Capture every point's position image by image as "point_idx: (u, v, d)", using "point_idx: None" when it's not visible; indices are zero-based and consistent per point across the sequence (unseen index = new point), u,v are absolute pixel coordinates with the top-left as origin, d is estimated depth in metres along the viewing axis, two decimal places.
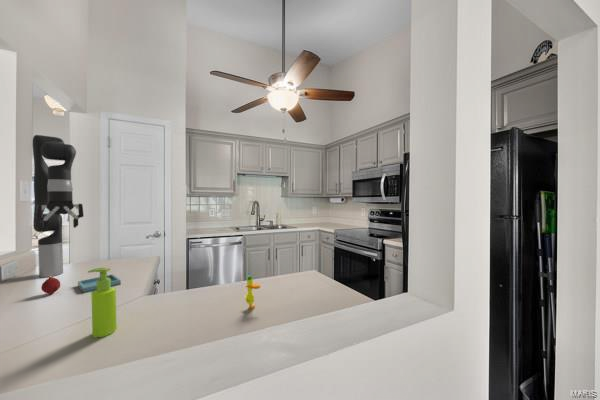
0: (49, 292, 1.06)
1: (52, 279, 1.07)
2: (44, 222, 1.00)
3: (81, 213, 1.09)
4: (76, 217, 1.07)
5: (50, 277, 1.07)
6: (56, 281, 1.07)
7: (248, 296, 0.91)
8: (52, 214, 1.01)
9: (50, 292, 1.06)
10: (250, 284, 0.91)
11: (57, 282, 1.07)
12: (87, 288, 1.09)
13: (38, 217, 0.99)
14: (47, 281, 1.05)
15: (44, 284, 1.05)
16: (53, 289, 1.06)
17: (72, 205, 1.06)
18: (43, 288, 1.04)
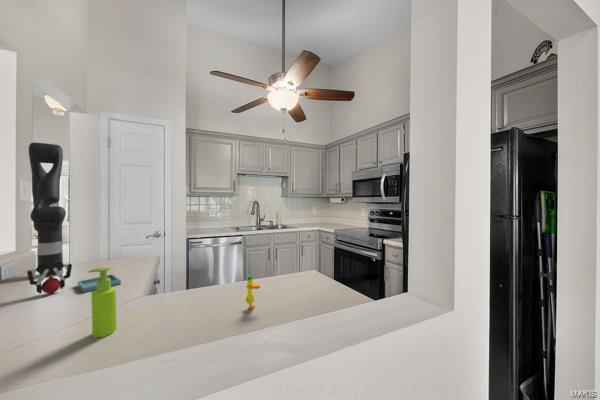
0: (49, 292, 1.06)
1: (52, 279, 1.07)
2: (37, 286, 1.04)
3: (68, 274, 1.11)
4: (62, 278, 1.09)
5: (50, 277, 1.07)
6: (56, 281, 1.07)
7: (248, 296, 0.91)
8: None
9: (50, 292, 1.06)
10: (250, 284, 0.91)
11: (57, 282, 1.07)
12: (87, 288, 1.09)
13: (31, 282, 1.02)
14: (47, 281, 1.05)
15: (44, 284, 1.05)
16: (53, 289, 1.06)
17: (62, 265, 1.09)
18: (43, 288, 1.04)
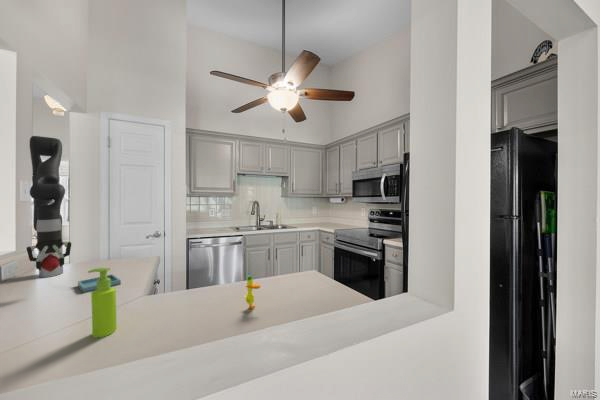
0: (48, 269, 1.06)
1: (51, 256, 1.06)
2: (37, 263, 1.04)
3: (68, 252, 1.10)
4: (62, 256, 1.09)
5: (49, 254, 1.07)
6: (55, 258, 1.07)
7: (248, 296, 0.91)
8: (43, 254, 1.04)
9: (49, 269, 1.06)
10: (250, 284, 0.91)
11: (56, 259, 1.07)
12: (87, 288, 1.09)
13: (31, 259, 1.02)
14: (46, 258, 1.05)
15: (44, 261, 1.05)
16: (53, 266, 1.06)
17: (61, 243, 1.09)
18: (42, 265, 1.04)
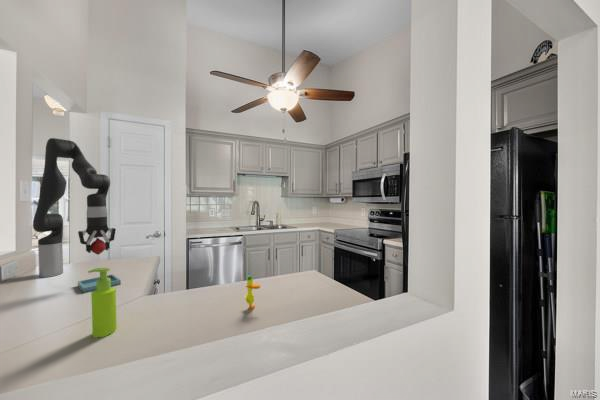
0: (97, 252, 1.15)
1: (99, 240, 1.16)
2: (87, 246, 1.14)
3: (112, 237, 1.20)
4: (108, 241, 1.19)
5: (97, 239, 1.17)
6: (103, 242, 1.17)
7: (248, 296, 0.91)
8: (92, 238, 1.14)
9: (98, 252, 1.16)
10: (250, 284, 0.91)
11: (103, 243, 1.17)
12: (87, 288, 1.09)
13: (82, 242, 1.12)
14: (95, 242, 1.15)
15: (93, 244, 1.15)
16: (101, 249, 1.16)
17: (107, 229, 1.19)
18: (92, 248, 1.14)
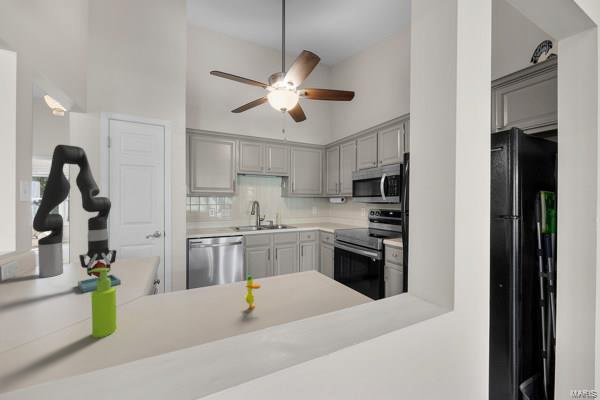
0: (98, 275, 1.16)
1: (100, 263, 1.17)
2: (88, 269, 1.14)
3: (113, 259, 1.21)
4: (109, 263, 1.19)
5: (98, 261, 1.17)
6: (104, 265, 1.17)
7: (248, 296, 0.91)
8: (93, 261, 1.15)
9: (99, 275, 1.16)
10: (250, 284, 0.91)
11: (104, 266, 1.18)
12: (87, 288, 1.09)
13: (83, 266, 1.12)
14: (96, 265, 1.16)
15: (94, 267, 1.15)
16: None
17: (108, 251, 1.19)
18: None
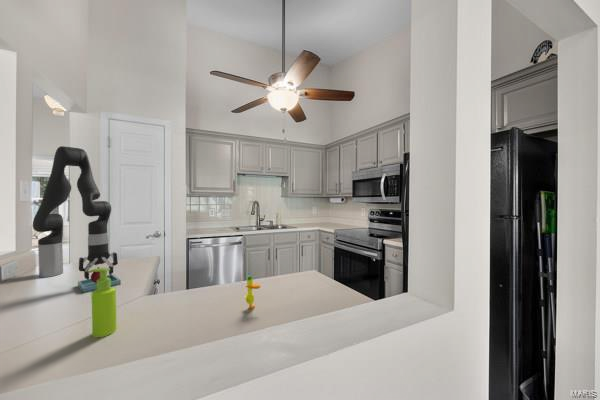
0: None
1: None
2: (85, 273, 1.13)
3: (116, 261, 1.21)
4: (111, 265, 1.20)
5: None
6: None
7: (248, 296, 0.91)
8: (92, 265, 1.14)
9: None
10: (250, 284, 0.91)
11: None
12: (87, 288, 1.09)
13: (81, 269, 1.11)
14: (96, 272, 1.16)
15: (94, 274, 1.15)
16: None
17: (108, 255, 1.19)
18: (93, 278, 1.15)
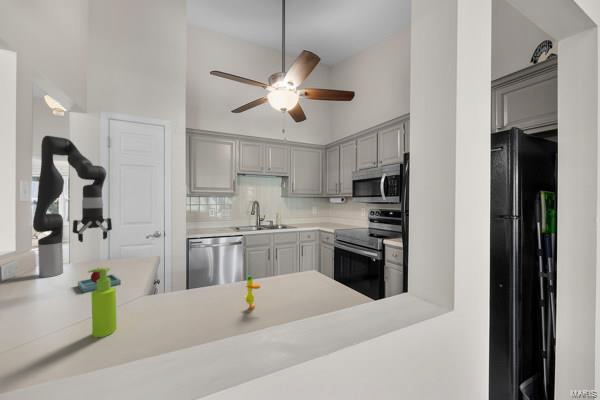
0: None
1: None
2: (79, 235, 1.14)
3: (110, 226, 1.22)
4: (105, 230, 1.21)
5: None
6: None
7: (248, 296, 0.91)
8: (86, 228, 1.15)
9: None
10: (250, 284, 0.91)
11: None
12: (87, 288, 1.09)
13: (74, 231, 1.12)
14: (96, 272, 1.16)
15: (93, 274, 1.15)
16: None
17: (102, 219, 1.20)
18: (92, 278, 1.15)
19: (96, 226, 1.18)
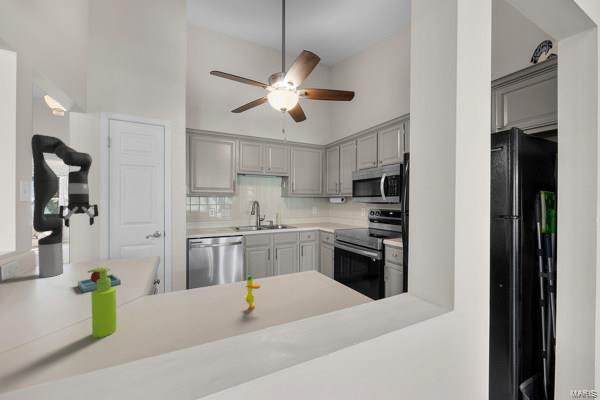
0: None
1: None
2: (65, 220, 1.16)
3: (96, 212, 1.24)
4: (92, 216, 1.23)
5: None
6: None
7: (248, 296, 0.91)
8: (72, 213, 1.17)
9: None
10: (250, 284, 0.91)
11: None
12: (87, 288, 1.09)
13: (60, 216, 1.14)
14: (96, 272, 1.16)
15: (93, 274, 1.15)
16: None
17: (89, 206, 1.22)
18: (92, 278, 1.15)
19: (82, 212, 1.20)
